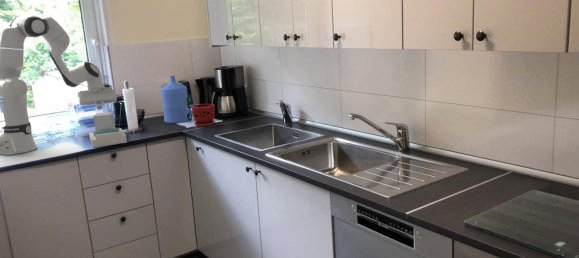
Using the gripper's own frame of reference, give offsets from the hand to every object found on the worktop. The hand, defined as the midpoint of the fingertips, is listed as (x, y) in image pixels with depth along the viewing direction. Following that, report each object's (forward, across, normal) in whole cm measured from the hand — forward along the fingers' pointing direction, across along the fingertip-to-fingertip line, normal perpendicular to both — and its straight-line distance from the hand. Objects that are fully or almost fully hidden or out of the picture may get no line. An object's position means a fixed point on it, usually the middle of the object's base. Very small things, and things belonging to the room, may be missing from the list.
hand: (99, 108), depth 298 cm
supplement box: (+23, +1, -1) cm, 23 cm away
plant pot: (+20, +56, 0) cm, 60 cm away
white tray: (+24, +1, -2) cm, 24 cm away
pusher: (+27, +1, -6) cm, 28 cm away
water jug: (+3, +45, +17) cm, 48 cm away
